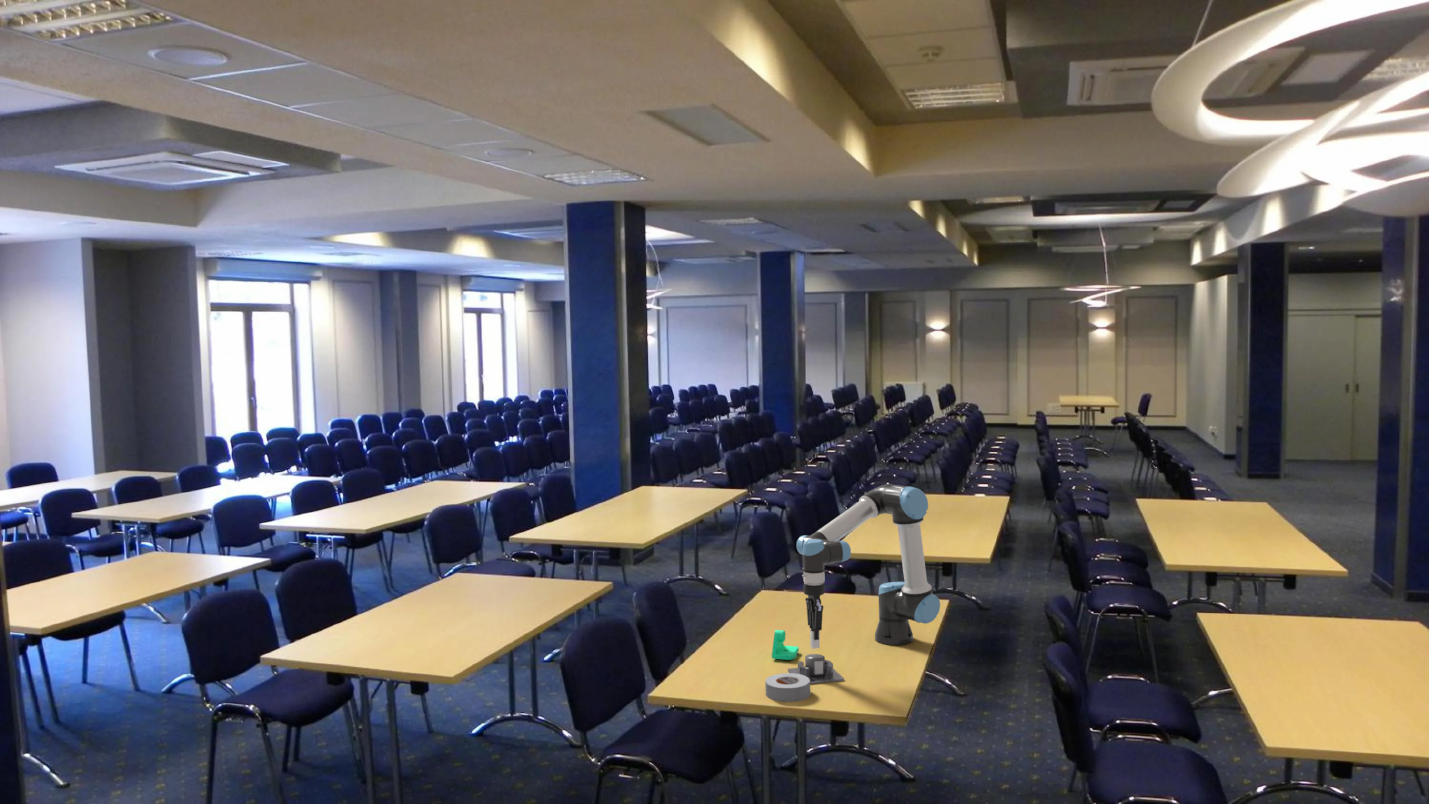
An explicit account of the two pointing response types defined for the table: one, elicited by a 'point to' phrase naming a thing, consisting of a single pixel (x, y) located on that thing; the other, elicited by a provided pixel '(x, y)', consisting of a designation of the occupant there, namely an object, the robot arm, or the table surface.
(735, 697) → the table surface
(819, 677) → the ball joint plate
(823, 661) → the cap
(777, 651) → the camera mount
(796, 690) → the tape roll
